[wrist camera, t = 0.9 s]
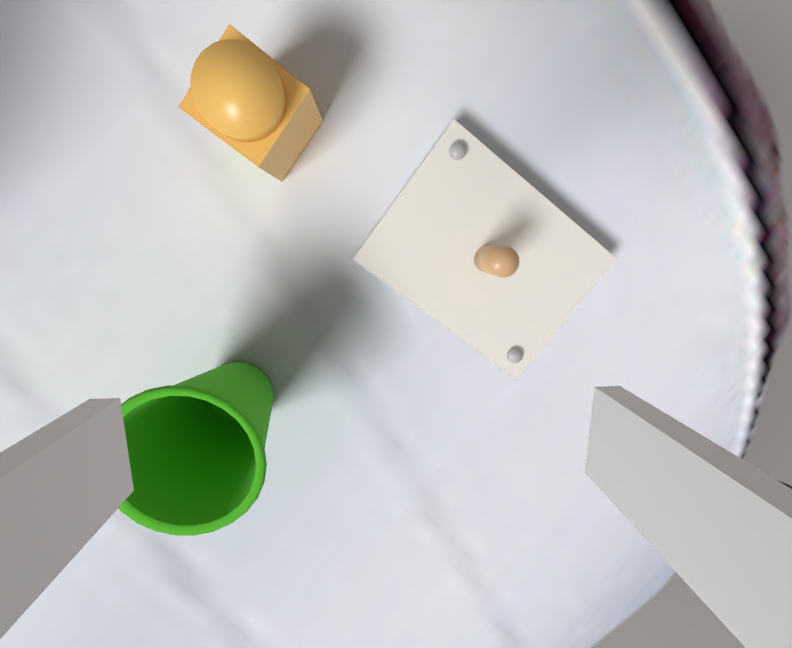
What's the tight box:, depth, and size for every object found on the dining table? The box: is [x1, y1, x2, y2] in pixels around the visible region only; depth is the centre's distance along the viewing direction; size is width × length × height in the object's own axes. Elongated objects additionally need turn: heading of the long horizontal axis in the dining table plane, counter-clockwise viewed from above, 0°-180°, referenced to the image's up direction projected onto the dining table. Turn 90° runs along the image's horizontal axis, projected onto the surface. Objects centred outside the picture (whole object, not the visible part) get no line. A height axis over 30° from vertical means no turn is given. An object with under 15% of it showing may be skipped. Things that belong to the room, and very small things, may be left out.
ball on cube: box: [179, 24, 323, 181], centre depth 25 cm, size 5×5×8 cm
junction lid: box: [353, 119, 617, 380], centre depth 29 cm, size 16×12×6 cm
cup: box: [119, 362, 274, 535], centre depth 28 cm, size 9×9×11 cm
